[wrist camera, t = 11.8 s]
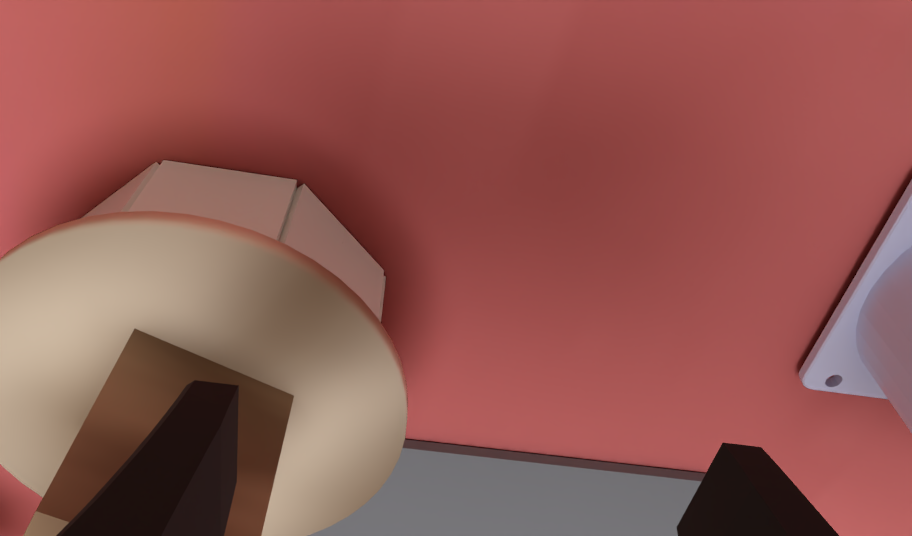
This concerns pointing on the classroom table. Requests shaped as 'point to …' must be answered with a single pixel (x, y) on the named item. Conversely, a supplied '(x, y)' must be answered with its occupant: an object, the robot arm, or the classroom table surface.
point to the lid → (193, 366)
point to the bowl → (256, 216)
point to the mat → (518, 496)
